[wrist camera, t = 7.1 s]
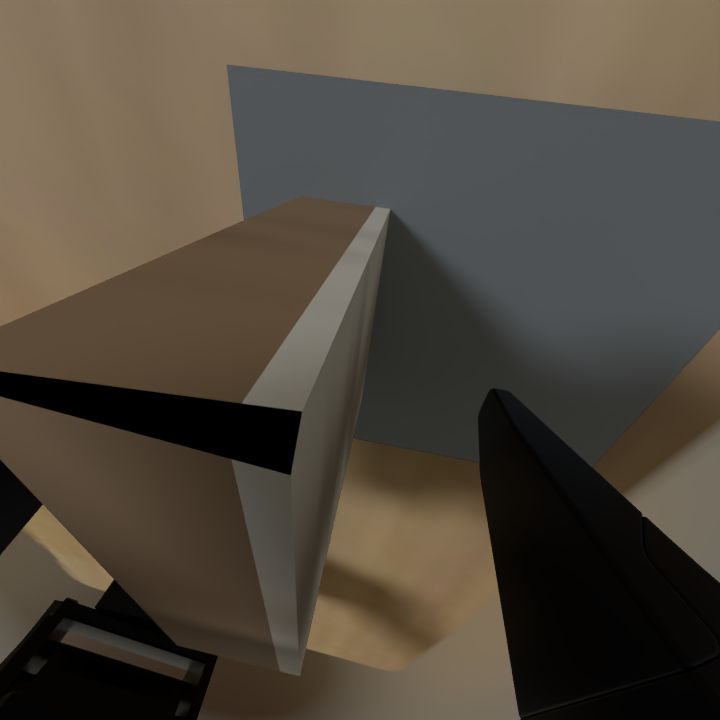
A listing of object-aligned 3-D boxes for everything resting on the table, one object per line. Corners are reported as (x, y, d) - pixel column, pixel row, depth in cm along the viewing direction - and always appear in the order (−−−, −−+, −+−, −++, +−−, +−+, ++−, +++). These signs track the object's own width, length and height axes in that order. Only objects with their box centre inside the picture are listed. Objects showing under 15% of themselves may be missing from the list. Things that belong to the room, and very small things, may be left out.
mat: (574, 471, 14) (579, 481, 13) (270, 413, 14) (266, 421, 14) (862, 141, 7) (891, 141, 6) (237, 69, 7) (226, 64, 7)
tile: (361, 398, 12) (299, 676, 6) (301, 387, 13) (177, 645, 6) (390, 209, 8) (288, 441, 2) (300, 195, 8) (-92, 366, 2)
